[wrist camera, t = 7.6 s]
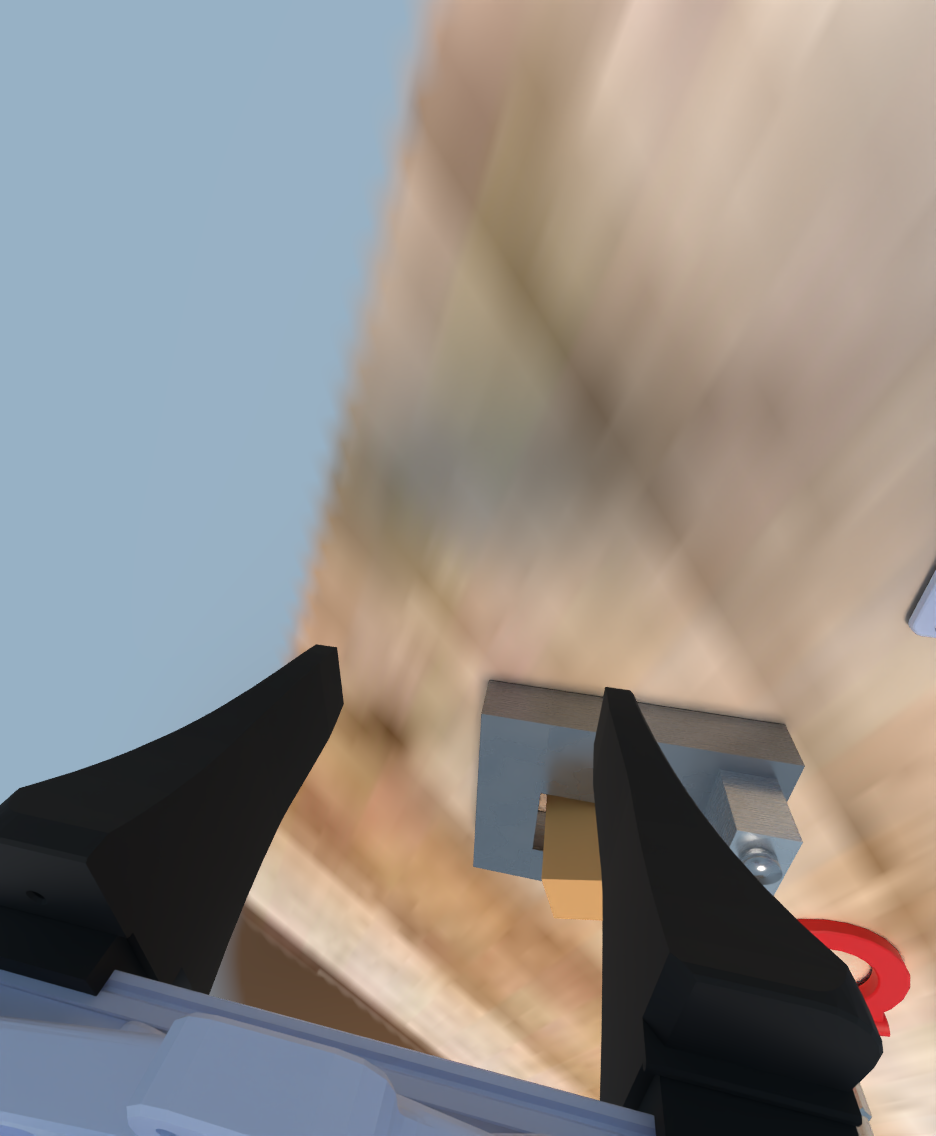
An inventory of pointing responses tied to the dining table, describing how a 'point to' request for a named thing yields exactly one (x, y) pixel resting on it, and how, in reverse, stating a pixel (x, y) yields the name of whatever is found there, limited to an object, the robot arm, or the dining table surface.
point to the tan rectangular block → (572, 859)
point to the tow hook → (878, 990)
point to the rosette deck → (565, 768)
